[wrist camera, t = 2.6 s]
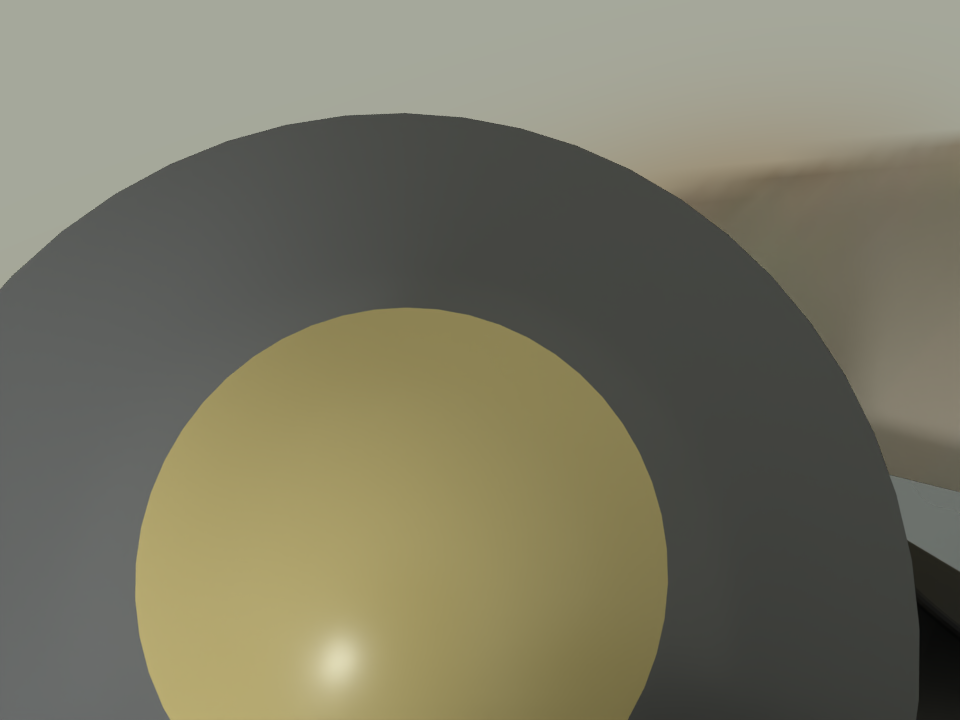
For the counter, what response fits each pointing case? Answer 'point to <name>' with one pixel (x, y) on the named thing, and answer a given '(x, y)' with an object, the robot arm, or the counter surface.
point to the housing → (930, 518)
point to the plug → (432, 451)
